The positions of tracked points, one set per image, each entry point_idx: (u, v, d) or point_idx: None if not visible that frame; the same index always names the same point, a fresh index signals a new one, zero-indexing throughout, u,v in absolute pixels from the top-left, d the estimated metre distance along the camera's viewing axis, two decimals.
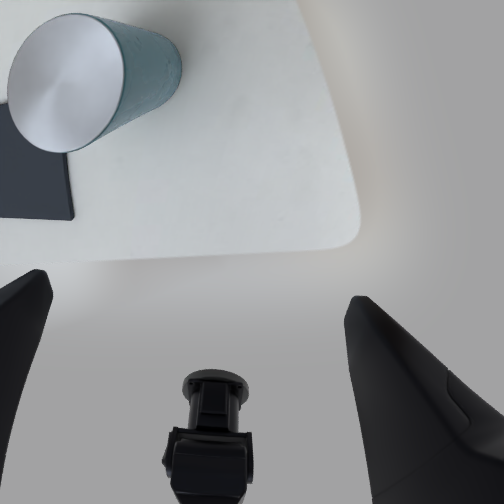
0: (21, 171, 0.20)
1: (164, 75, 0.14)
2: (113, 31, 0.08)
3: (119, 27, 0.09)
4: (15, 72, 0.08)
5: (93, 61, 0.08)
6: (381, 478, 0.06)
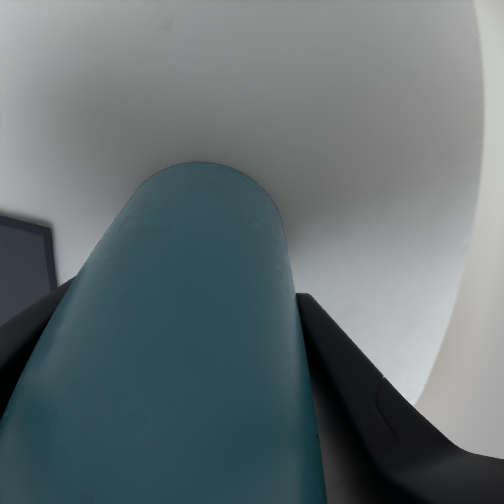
0: None
1: None
2: None
3: (314, 500, 0.03)
4: None
5: None
6: None
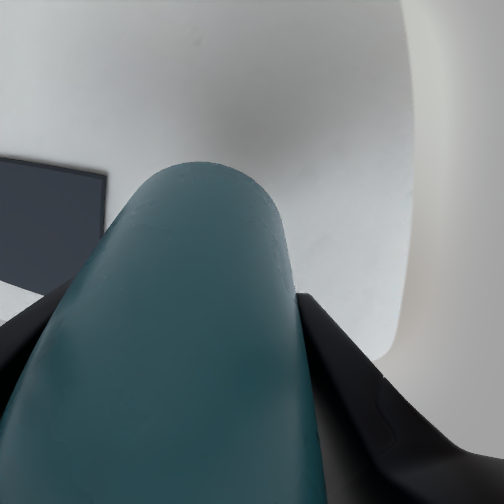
0: (42, 250, 0.17)
1: None
2: None
3: (314, 499, 0.03)
4: None
5: None
6: None
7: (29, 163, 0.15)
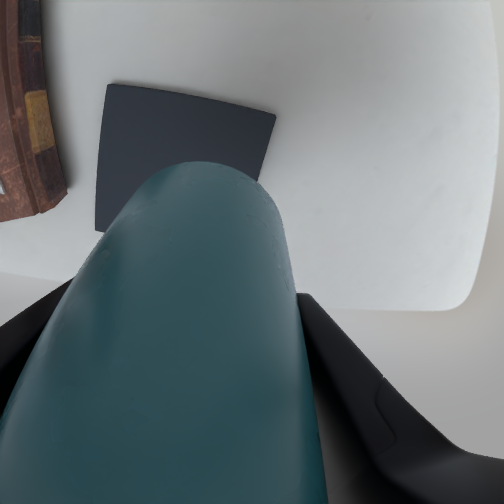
0: None
1: None
2: None
3: (315, 500, 0.03)
4: None
5: None
6: None
7: (184, 94, 0.16)
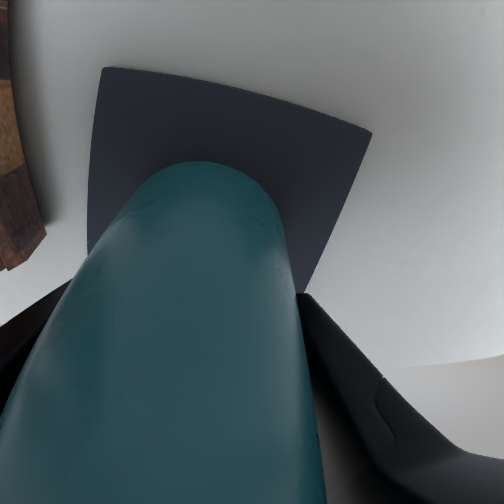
0: None
1: None
2: None
3: (314, 500, 0.03)
4: None
5: None
6: None
7: None
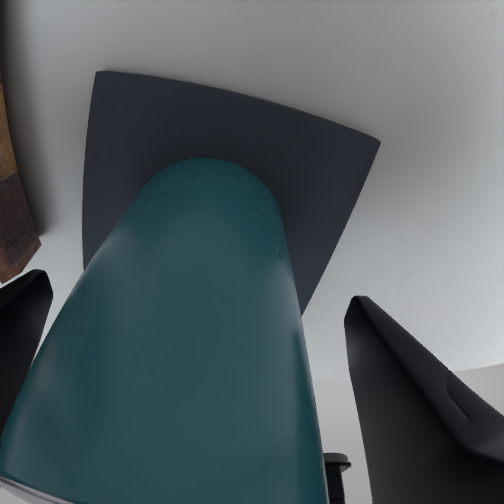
0: None
1: None
2: None
3: (311, 450, 0.04)
4: (13, 492, 0.02)
5: None
6: (381, 478, 0.06)
7: (232, 92, 0.09)
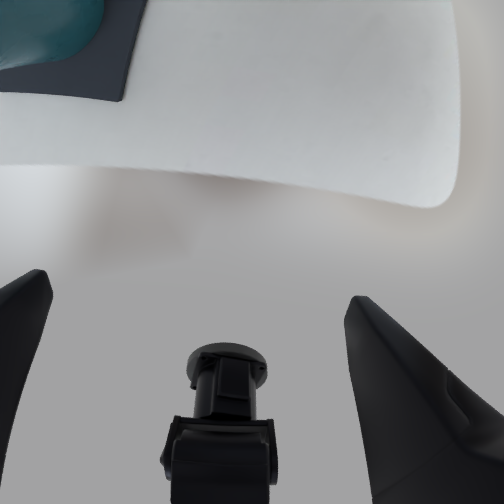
0: None
1: (62, 14, 0.09)
2: None
3: None
4: None
5: None
6: (381, 478, 0.06)
7: None
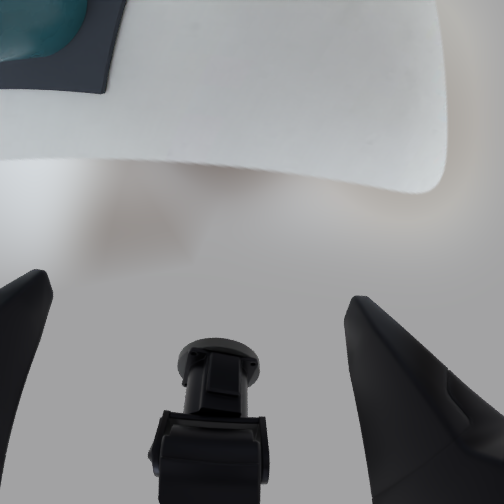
0: None
1: (44, 10, 0.09)
2: None
3: None
4: None
5: None
6: (381, 478, 0.06)
7: None
